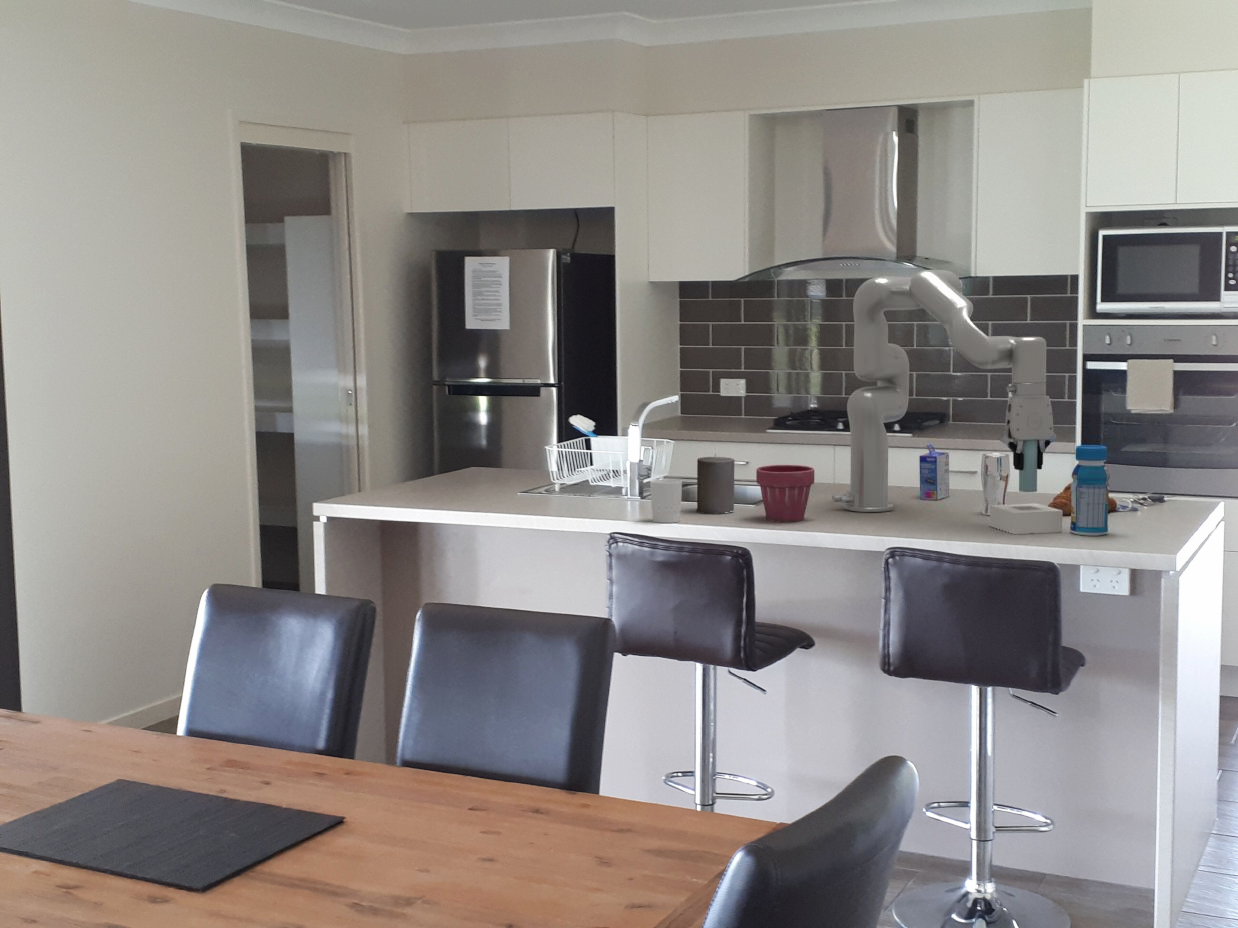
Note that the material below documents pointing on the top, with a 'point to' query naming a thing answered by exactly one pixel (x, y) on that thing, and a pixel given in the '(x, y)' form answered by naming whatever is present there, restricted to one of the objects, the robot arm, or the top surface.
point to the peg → (1029, 467)
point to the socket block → (1026, 518)
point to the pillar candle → (715, 485)
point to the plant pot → (785, 490)
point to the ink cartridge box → (934, 475)
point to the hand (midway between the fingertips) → (1028, 468)
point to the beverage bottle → (1090, 492)
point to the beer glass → (994, 479)
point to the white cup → (666, 500)
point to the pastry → (1064, 501)
